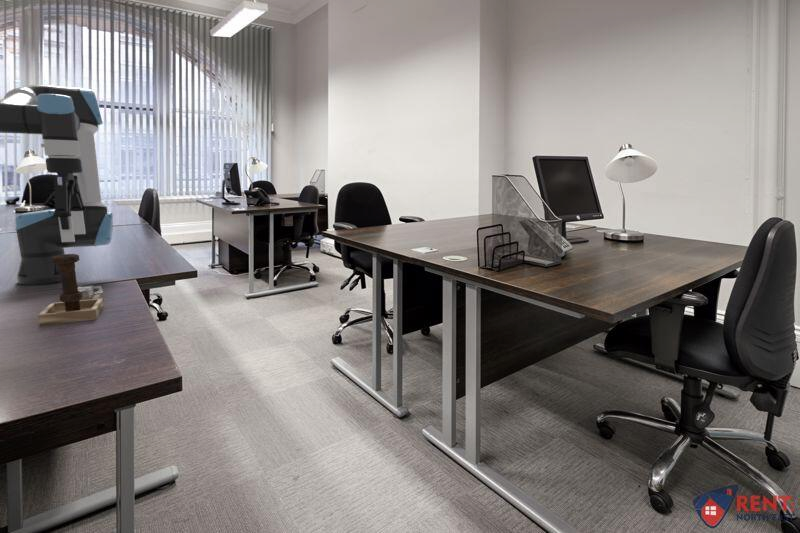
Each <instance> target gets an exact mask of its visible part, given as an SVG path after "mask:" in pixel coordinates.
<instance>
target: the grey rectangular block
mask: <svg viewBox="0 0 800 533" xmlns="http://www.w3.org/2000/svg"><path fill="white" fill-rule="evenodd" d="M77 286H78V287H77V288H78V291H81V292H82V296H83V297H82V299H81V300H90V299H92V298H93V297H94V296H95V288H94V285H93V284H88V285H87V284H86V285H77Z"/></svg>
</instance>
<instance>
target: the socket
mask: <svg viewBox="0 0 800 533" xmlns="http://www.w3.org/2000/svg"><path fill="white" fill-rule="evenodd" d="M100 298H101V299H100ZM64 303H65V302H62V301H59V302H50V304H49V305H48V304H47V306H46V307H45V308H44V309H43V310H42V311H41V312H40V313H39V314H37V317H38V318H37V319H38V323H39V324H38V325H39V326H46V325H47V326H49V325H56V324H57V325H58V324H67V323H76V322H84V321H85V322H86V321H87V322H88V321H95V320H97V319H98V318H99V317H100V315H101V313H102V311H103V309H104V308H105V305H104V298H103V297H102V295H101V293H97V294H95V293H94V297H93V298H92V299H90V300H79V303H80V309H81V310H78V311H68V312H66V310H65V305H64Z"/></svg>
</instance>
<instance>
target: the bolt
mask: <svg viewBox="0 0 800 533" xmlns="http://www.w3.org/2000/svg"><path fill="white" fill-rule="evenodd" d="M79 261H80V255H79V254H77V253H66V254H63V255H56V256H53V257H52V263H54V264H58V267H59V270H60V275H61V280H62V281H61V282H60V284H61V287H62V288H61V290H62V292H61V293H60V294H59V296H58V298H59V302H65V303H64V305H65V310H66V312H68V311H78V310H81V309H80V303H79V300H81V299H82V297H83V296H82V292H81V291H78V288H77V287H78V286H79V285H78V281H77V274H76V263H77V262H79Z"/></svg>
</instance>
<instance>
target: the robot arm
mask: <svg viewBox="0 0 800 533" xmlns="http://www.w3.org/2000/svg"><path fill="white" fill-rule="evenodd" d="M103 124H104V123H103V120H102V115H101V111H100V108H99V104H98V100H97V96H96V94H95V92H94V91H93V90H92V89H89V88H83V87H78V86H77V87H71V86H68V87H67V86H59V85H57V86H55V85H47V84H46V85H45V84H33V85H32V84H31V85H25V86H21V87H20V86H19V87H16V88H13V89H11V90H8V92H6V93H5V94H4V96H3V98H2V99H0V134H25V135H26V134H27V135H41V136H42V138H41V140H42V142H43V143H40V147H42V148H43V152H44V155H45V156H47V157H46V158H45V166H46V172H48V173H50V174H51V173H53V174H57V175H56V176H54V177H53V184H54V185H53V186H54V187H53V188H54V208H52V209H44V210H43V209H42V210H36V211H30V212H24V213H23V212H22V213H20V214H18V215H16V217H15V218H14V219H15V231H16V235H17V241H18V248H19V253H20V263H19V267H18V270H17V275H16V276H17V278H16V279H17V283H18V284H20V285H26V286H27V285H34V286H35V285H44V284H45V285H47V284H55V283H61V281H62V280H61V275H60V270H59V267H58V264H54V263H52V257H53V256H56V255H63V254H65V249H66V248H80V247H81V248H82V247H83V248H84V247H98V246H106V245H109V244H111V242H112V240H113V239H112V238H113V227H114V226H113V224H114V220H113V217H114V215H113V212H112V211H109V210H108V206H107V205H105V203H103V202H102V197H101V187H100V179H99V169H98V161H97V160H98V159H97V151H96V143H95V133H97V132H98V131H99V126H100V125H101V126H102V125H103Z"/></svg>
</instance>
